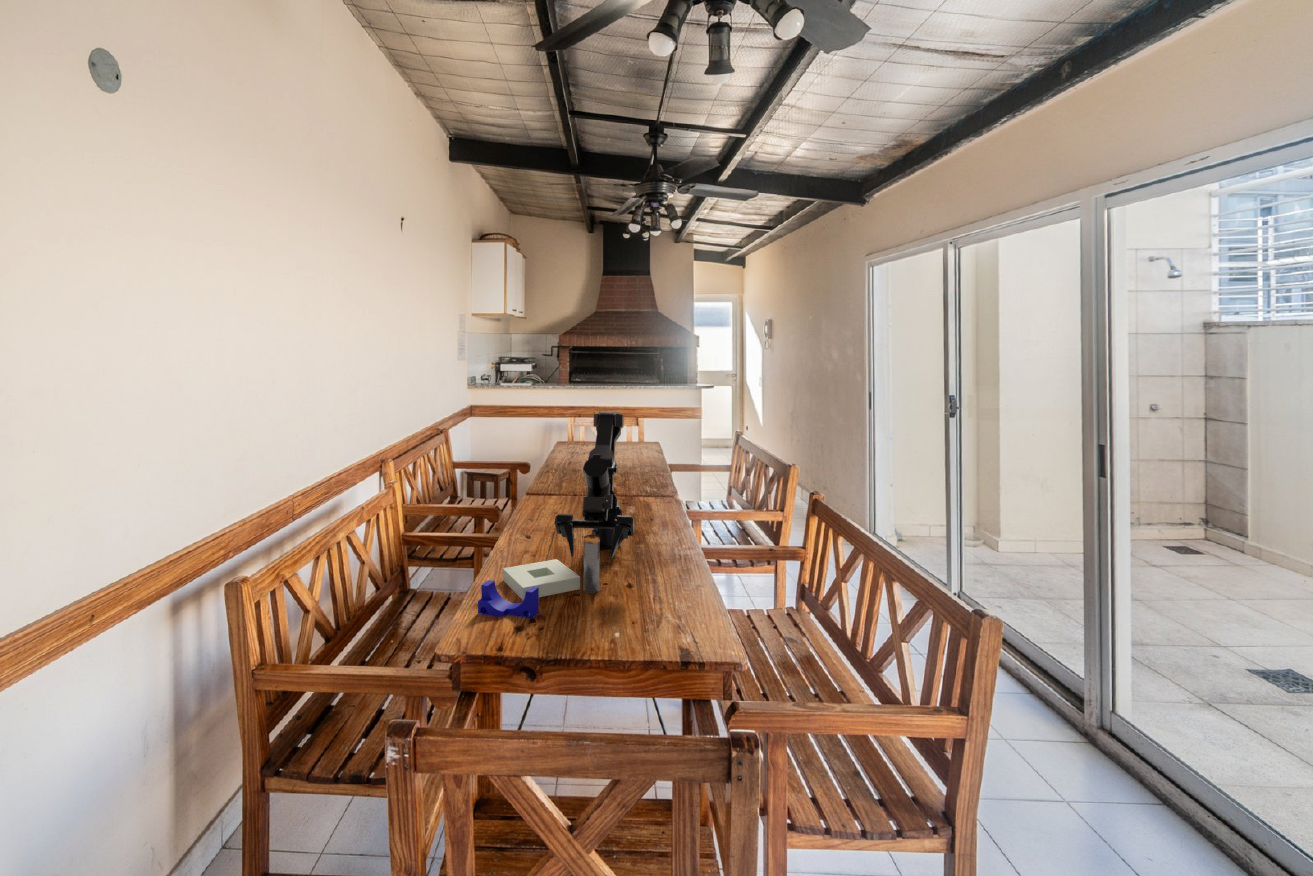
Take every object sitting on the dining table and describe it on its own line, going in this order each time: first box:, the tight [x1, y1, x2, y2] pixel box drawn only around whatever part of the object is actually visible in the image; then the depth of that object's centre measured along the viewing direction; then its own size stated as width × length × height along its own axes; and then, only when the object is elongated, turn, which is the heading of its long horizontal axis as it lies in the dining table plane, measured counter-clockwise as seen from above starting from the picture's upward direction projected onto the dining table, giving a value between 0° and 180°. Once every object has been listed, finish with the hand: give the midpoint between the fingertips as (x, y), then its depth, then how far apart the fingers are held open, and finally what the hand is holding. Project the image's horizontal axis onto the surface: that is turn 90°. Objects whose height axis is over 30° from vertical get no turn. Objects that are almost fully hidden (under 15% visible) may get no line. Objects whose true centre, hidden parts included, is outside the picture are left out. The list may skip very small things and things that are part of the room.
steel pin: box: [583, 534, 600, 594], centre depth 148 cm, size 4×4×13 cm
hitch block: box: [502, 558, 581, 601], centre depth 152 cm, size 14×14×3 cm
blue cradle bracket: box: [477, 579, 540, 619], centre depth 136 cm, size 12×4×6 cm, turn 74°
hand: (591, 557), depth 148 cm, fingers open, 9 cm apart
